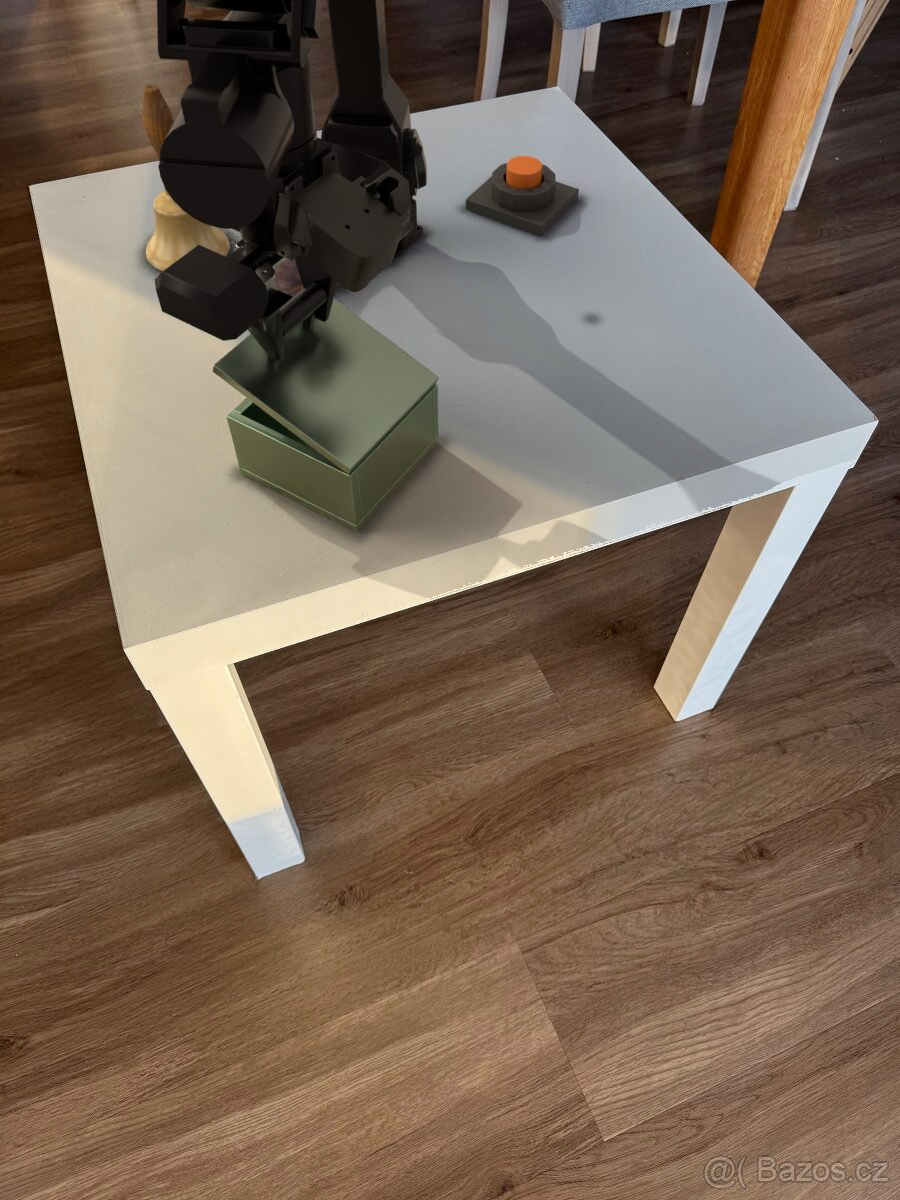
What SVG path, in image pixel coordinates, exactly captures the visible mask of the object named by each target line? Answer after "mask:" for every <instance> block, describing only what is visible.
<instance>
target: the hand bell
mask: <svg viewBox="0 0 900 1200" xmlns="http://www.w3.org/2000/svg"><path fill="white" fill-rule="evenodd" d="M142 90H143V99H142V120H143V126H144V129H145V132H146V135H147V138H148V141H149V143H150V145H151V147H152V148H153V150H154V153H156V157H157V159H158V161H159V160H160V150H161V147H162V145H163V142H164V140H165V138H166V136H167V134H168V133H169V131H170V129H171V127H172V126H173V124H174V122H175V120H174V117H173V113H172V111H171V108H170V106H169V104H168V103H167V101H166V99H165V97H164V96H163V94H162V92H161V90H160V88H159V86H158V85H157V84H156V83H147V84H145V85H144V86H143V89H142ZM163 188H164V191H162V192H161V193H159V194H158V195H157V196H156V197H155V199H154V201H153V211H154V221H155V224H154V225H155V228H154V233H153V235H152V236H151V237H150V239H149V240H148V242H147V244H146V248H145V258H146V260H147V261H148V263H149V265H151V266H152V267H153V268H155V269H156V270H158V271H161V272H162V271H164V270H165V269H166V268H168V267H169V266H171V265H172V264H173V263H175V262H176V261H177V260H179V259H180V258H181V257H183V256H184V255H185V254H187V253H188V252H189V251H191V250H192V249H193V248H195V247H196V246H198V245H201V246H203V247H205V248H208V249H210V250H212V251H214V252H217V253H219V254H221V255H223V256H226V257H228V256H229V252H230V250H231V242H230V240H229V238H228V237H227V235H226V234H225V232H224V231H222V229H221V228H217V227H214V226H210V225H206V224H204V223H202V222H200V221H198V220H196V219H194V218H193V217H191V216H190V215H189V214H187V213H186V212H184V211H183V210H182V209H181V208H180V207H179V206H178V205H177V204H176V203H175V202H174V201H173V199H172V198H171V196H170V195H169V193H168V192H167V190H166V189H165V187H164V186H163Z"/></svg>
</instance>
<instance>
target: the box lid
mask: <svg viewBox="0 0 900 1200" xmlns="http://www.w3.org/2000/svg"><path fill="white" fill-rule="evenodd" d="M326 300H327V294H326V292H325V290H324V288H323V287H322V286H321V285H319V284H318V283H311V284H310V285H309V286H307V287H306V288H305V289H303V290H302V291H301V292H299V293H298V294H297V295H296V296H295V297H294V298H292V299H291V300H290V301H289V302H288V303H287V304H285V305H284V306H283V307H282V308H281V309H280V312H281V322H282V331H283V340H284V358H283V360H281V361H277V360H275V359H273V358H271V357H270V356H269V355H268V354H267V353H266V352H265V351H264V349H263V348H262V347H261V346H260V344H259V343H258V342H257V341H256V340H255V338H254V337H253V336H252V335H251V333H249V334H248V335H247V336H246V337H245V338H244V339H242V340H241V341H240V342H239V343H238V344H236V346H234V347H233V348H232V349H231V350H229V351H228V352H227V353H226V354H225V355H224V356H222V357H221V358H220V359H219V360H218V361H216V362H215V363H214V364H213V365H212V373H214V374H215V375H216V376H218V377H219V378H220V379H221V380H223V381H224V382H225V383H227V384H228V385H229V386H230V387H232V388H233V389H235V390H236V391H237V392H239V393H240V394H241V395H242V396H244V397H245V398H248V399H249V400H251V401H252V402H253V403H254V404H256V405H257V406H258V407H260V408H261V409H262V410H264V411H265V412H266V413H268V414H269V415H270V416H272V417H273V418H274V419H276V420H277V421H278V422H280V423H281V424H282V425H283V426H285V427H286V428H287V429H289V430H290V431H291V432H293V433H294V434H295V435H297V436H298V437H299V438H301V439H302V440H303V441H305V442H306V443H307V444H309V445H310V446H311V447H312V448H314V449H315V450H316V451H318V452H319V453H320V454H322V455H323V456H324V457H326V458H327V459H328V460H330V461H331V462H332V463H334V464H335V465H336V466H338V467H339V468H340V469H342V470H343V471H344V472H345V473H347V474H350V473H351V472H352V471H353V470H354V468H355V467H356V466H357V465H358V464H359V463H360V462H361V461H362V460H363V459H364V458H365V457H366V456H367V455H368V454H369V453H370V452H371V451H372V450H373V449H374V448H375V447H376V446H377V445H378V443H379V442H380V441H381V440H382V439H383V438H384V437H385V436H386V435H387V434H388V433H389V432H390V431H391V430H392V429H393V428H394V427H395V426H396V425H397V424H398V423H399V422H400V421H401V420H402V418H403V417H404V416H405V415H406V414H407V413H408V412H409V411H410V410H411V409H412V408H413V407H414V406H415V405H416V404H417V403H418V402H419V401H420V400H421V399H422V398H423V397H424V396H425V395H426V394H427V392H428V391H429V390H430V389H431V388H432V387H433V386H434V385H435V384H437V383H438V380H439V378H440V376H438V375H437V374H436V373H434V372H433V371H431V369H429V368H428V367H426V366H425V365H424V364H422V363H421V362H420V361H418V360H417V359H416V358H414V357H413V356H412V355H411V354H409V353H408V352H407V351H405V350H404V349H402V348H401V347H400V346H398V345H397V344H395V343H394V342H393V341H392V340H390V339H389V338H388V337H386V336H385V335H384V334H382V333H381V332H379V330H377V329H376V328H375V327H373V326H372V325H370V324H369V323H367V321H365V320H364V319H362V318H361V317H359V316H358V315H357V314H356V313H355V312H353V311H352V310H351V309H349V308H348V307H347V306H345V305H344V304H342V303H341V302H340V301H339V300H338V299H336V298H334V299H333V303H332V307H331V311H330V315H329V318H328V320H327V321H325V322H323V321H320V320H318V319H316V314H317V310H318V308H319V307H320V306H321V305H322V304H323V303H325V302H326Z"/></svg>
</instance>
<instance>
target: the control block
mask: <svg viewBox="0 0 900 1200" xmlns="http://www.w3.org/2000/svg"><path fill="white" fill-rule="evenodd" d="M507 163H508V162H506V163H502V164H500V165H498V167H497V168H495V169H494V170H493V171H492V173H491V176H490V177H489V178H487V179H486V180H485V182H483V183H482V184H481V185H480V186H479V187H478V188H477V189H475V190H474V191H473V192H472V193H470V195H468V197H467V198H466V199H465V210H467V211H469V212H472V213H475V214H478V215H481V216H483V217H486V218H489V219H492V220H495V221H497V222H500V223H503V224H505V225H508V226H511V227H514V228H516V229H519V230H522V231H524V232H528V233H531V234H533V235H537V236H539V237H542V235H544V234H545V233H546V232H547V231H548V230H549V229H550V228H551V227H552V226H553V225H554V224H555V223H556V222H557V221H558V220H559V218H561V217H562V215H564V214H565V213H566V212H567V211H568V210H569V209H570V208H571V207H572V206H573V205H574V204H575V203H576V202H577V201H578V199H579V190H580V189H579V188H577V187H574V186H571V185H568V184H566V183H562V182H559V181H556V173H555V172H554V171H553V170H552V169H551V167H549V166H548V165H546V164H543V163H542V177H541V184H540V185H539V186H538V187H535V188H531V189H518V188H515V187H512V186H509V185H508V184H507V182H506V172H507Z"/></svg>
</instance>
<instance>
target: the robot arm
mask: <svg viewBox="0 0 900 1200" xmlns="http://www.w3.org/2000/svg"><path fill="white" fill-rule="evenodd" d="M187 3H188V4H189V6H190V7H191V8H192V9H197V10H210V11H211V10H212V11H226V12H229V13H228V14H227V15H226V16H225V17H224V18H223V19H209V18H208V19H207V18H191V17H185V14H186V8H187V7H186V6H187ZM326 3H327V13H328V21H329V29H330V37H331V45H332V53H333V61H334V70H335V77H336V85H337V86H336V89H335V90H334V92H333V95H332V98H331V102H330V105H329V108H328V111H327V115H326V118H325V120H324V123H323V125H322V128H321V135H320V137H318V132H317V124H316V113H315V103H314V96H313V94H314V93H313V85H312V76H311V65H310V53H311V45H312V39H314V40H319V39H320V38H321V37H320V35H321V24H322V23H321V21H322V11H323V10H322V7H323V0H156V26H157V27H156V30H157V31H156V32H157V55H158V57H159V59H160V60H163V61H179V62H187V64H188V69H189V73H190V77H191V83H190V84H188V85H187V86H186V88H185V89H184V91H183V93H182V94H181V97H180V107H181V110H180V111H179V113H178V115H177V116H176V118H175V120H174V124H173V126H172V127H171V129H170V131H169V133H168V134H167V136H166V138H165V140H164V142H163V145H162V147H161V150H160V160H159V159H158V167H157V168H158V172H159V177H160V179H161V181H162V185H163V188H164V187H165V188H164V190H165V189H166V190H167V192H168V193H169V195H170V196H171V198H172V199H173V201H174V202H175V203H176V204H177V205H178V206H179V207H180V208H181V209H182V210H183V211H184V212H186V213H187V214H189V215H190V216H191V217H193V218H194V219H196V220H198V221H200V222H202V223H204V224H206V225H210V226H214V227H217V228H218V229H223V230H234V231H236V232H238V233H239V234H240V237H241V239H239V240H238V241H237V242H236V243H235V250H234V251H233V252H231V253H230V254H228V255H227V257H226V256H223V255H221V254H219V253H217V252H214V251H212V250H210V249H208V248H205V247H203V246H201V245H198V246H196V247H195V248H193V249H192V250H191V251H189V252H188V253H187V254H185V255H184V256H183V257H181V258H180V259H179V260H177V261H176V262H175V263H173V264H172V265H171V266H169V267H168V268H166V269H165V270H164V271H161V272H160V273H159V274H158V275H157V276H156V277H155V278H154V287H155V292H156V296H157V299H158V302H159V307H160V309H161V312H162V313H164V314H166V315H168V316H171V317H172V318H175V319H177V320H178V321H181V322H182V323H185V324H187V325H189V326H191V327H194V328H196V329H198V330H200V331H202V332H204V333H206V334H208V335H210V336H212V337H214V338H215V339H218V340H221V341H223V342H226V341H232V340H233V341H234V340H237V339H238V338H239V337H241V336H242V335H243V334H244V333H246V332H247V331H248V332H249V334H251V335H252V336H253V337H254V338H255V340H256V341H257V342H258V343H259V344H260V346H261V347H262V348H263V349H264V351H265V352H266V353H267V354H268V355H269V356H270V357H271V358H273V359H275V360H277V361H281V360H283V358H284V340H283V331H282V322H281V312H280V309H281V308H282V307H283V306H284V305H285V304H287V303H288V302H289V301H290V300H291V299H292V296H291V295H289V294H286V293H284V292H282V291H280V290H277V289H276V284H275V277H276V275H275V270H274V269H275V268H276V267H278V266H279V265H280V264H281V263H283V262H284V261H285V260H286V259H290V260H292V261H293V260H294V259H295V262H296V265H297V269H298V272H299V275H300V279H301V282H302V285H303V289H305V288H306V287H307V286H309V285H310V284H311V283H318V284H319V285H321V286H322V287H323V288H324V290H325V292H326V294H327V300H326V302H325V303H323V304H322V305H321V306H320V307H319V308H318V310H317V314H316V319H318V320H320V321H323V322H325V321H327V320H328V318H329V315H330V311H331V307H332V303H333V299H335V295H336V291H337V288H338V286H337V284H338V285H339V287H341V288H342V289H344V290H346V291H348V292H354V293H355V292H356V293H357V292H361V291H363V290H364V289H365V288H366V287H368V285H369V284H370V283H371V281H373V280H374V279H375V278H376V277H377V276H378V275H379V274H381V272H383V271H384V270H386V269H388V268H389V267H390V266H391V265H392V262H393V260H394V259H396V257H397V256H399V255H400V254H401V253H402V252H404V251H405V250H406V249H407V248H408V247H409V246H410V245H411V244H412V243H414V241H416V240H417V239H418V238H419V237H421V235H423V234H424V227H423V226H422V225H419V224H418V211H417V210H418V209H417V207H418V206H417V205H418V204H417V200H416V198H414V196H415V197H416V196H417V195H418V191H419V190H420V189H422V188H424V187H426V186H427V184H428V169H427V160H426V156H425V151H424V146H423V143H422V141H421V138H420V135H419V133H418V130H417V129H416V128H412V121H411V111H410V110H411V109H410V102H409V99H408V97H407V96H406V95H405V94H404V93H403V91H402V89H401V88H400V87H399V86H398V84H397V83H396V81H395V80H394V79H393V77H392V76H391V75H390V68H389V56H388V41H387V28H386V27H387V26H386V15H385V14H386V13H385V1H384V0H326Z"/></svg>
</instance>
